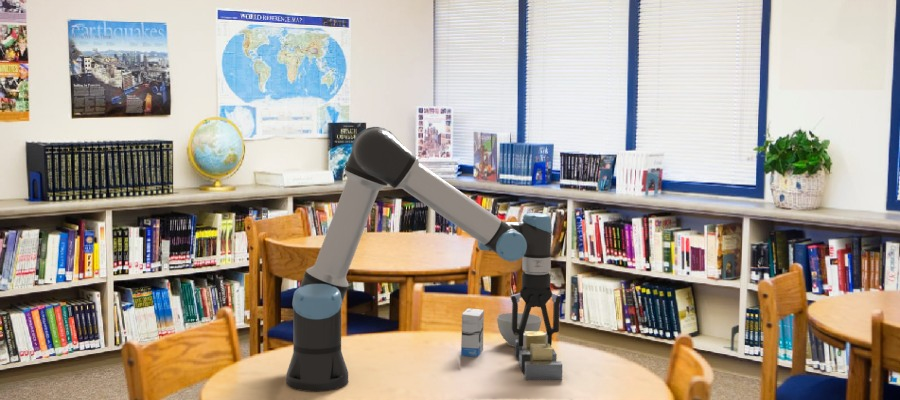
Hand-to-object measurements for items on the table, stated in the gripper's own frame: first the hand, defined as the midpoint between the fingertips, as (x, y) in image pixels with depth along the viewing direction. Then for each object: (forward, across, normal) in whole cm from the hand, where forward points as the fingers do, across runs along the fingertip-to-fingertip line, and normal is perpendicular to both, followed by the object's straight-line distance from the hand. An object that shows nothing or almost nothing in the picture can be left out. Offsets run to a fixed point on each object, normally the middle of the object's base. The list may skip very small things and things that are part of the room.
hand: (534, 357), depth 264 cm
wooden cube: (+1, 0, -12) cm, 12 cm away
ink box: (+1, -16, +8) cm, 18 cm away
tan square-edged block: (0, 0, 0) cm, 0 cm away
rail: (+1, 0, -6) cm, 6 cm away
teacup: (+1, -2, +19) cm, 19 cm away
